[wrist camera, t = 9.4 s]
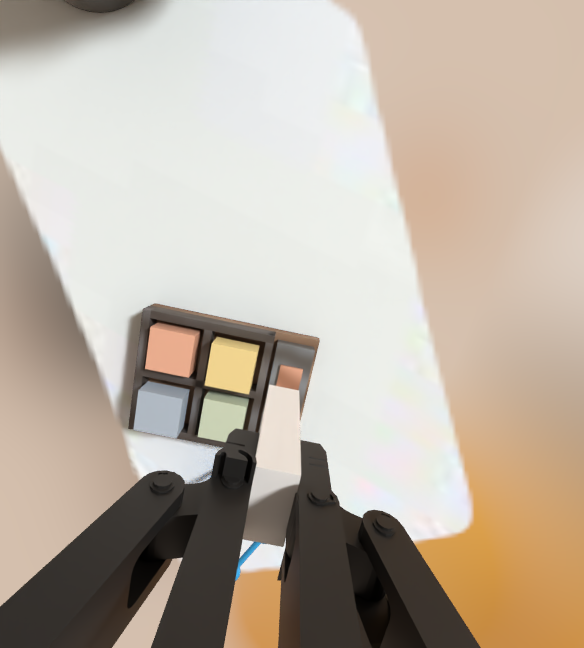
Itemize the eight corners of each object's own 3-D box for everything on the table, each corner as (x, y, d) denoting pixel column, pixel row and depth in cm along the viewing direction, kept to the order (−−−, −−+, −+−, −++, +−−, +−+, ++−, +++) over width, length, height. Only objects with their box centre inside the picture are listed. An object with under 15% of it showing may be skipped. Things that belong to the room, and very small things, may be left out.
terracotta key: (159, 321, 48) (150, 326, 45) (201, 330, 48) (195, 336, 45) (154, 361, 49) (145, 368, 46) (194, 369, 49) (188, 377, 46)
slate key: (148, 381, 48) (138, 390, 45) (189, 389, 48) (182, 399, 45) (142, 418, 49) (133, 429, 46) (183, 426, 50) (176, 438, 47)
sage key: (209, 389, 50) (204, 398, 47) (249, 397, 50) (246, 407, 47) (203, 425, 51) (197, 436, 48) (242, 433, 51) (239, 444, 48)
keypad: (155, 303, 50) (143, 308, 46) (318, 337, 50) (320, 346, 47) (140, 414, 53) (128, 428, 49) (293, 445, 54) (292, 460, 50)
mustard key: (217, 336, 47) (211, 343, 44) (259, 345, 47) (257, 352, 44) (210, 376, 48) (204, 385, 45) (251, 385, 48) (248, 394, 45)
